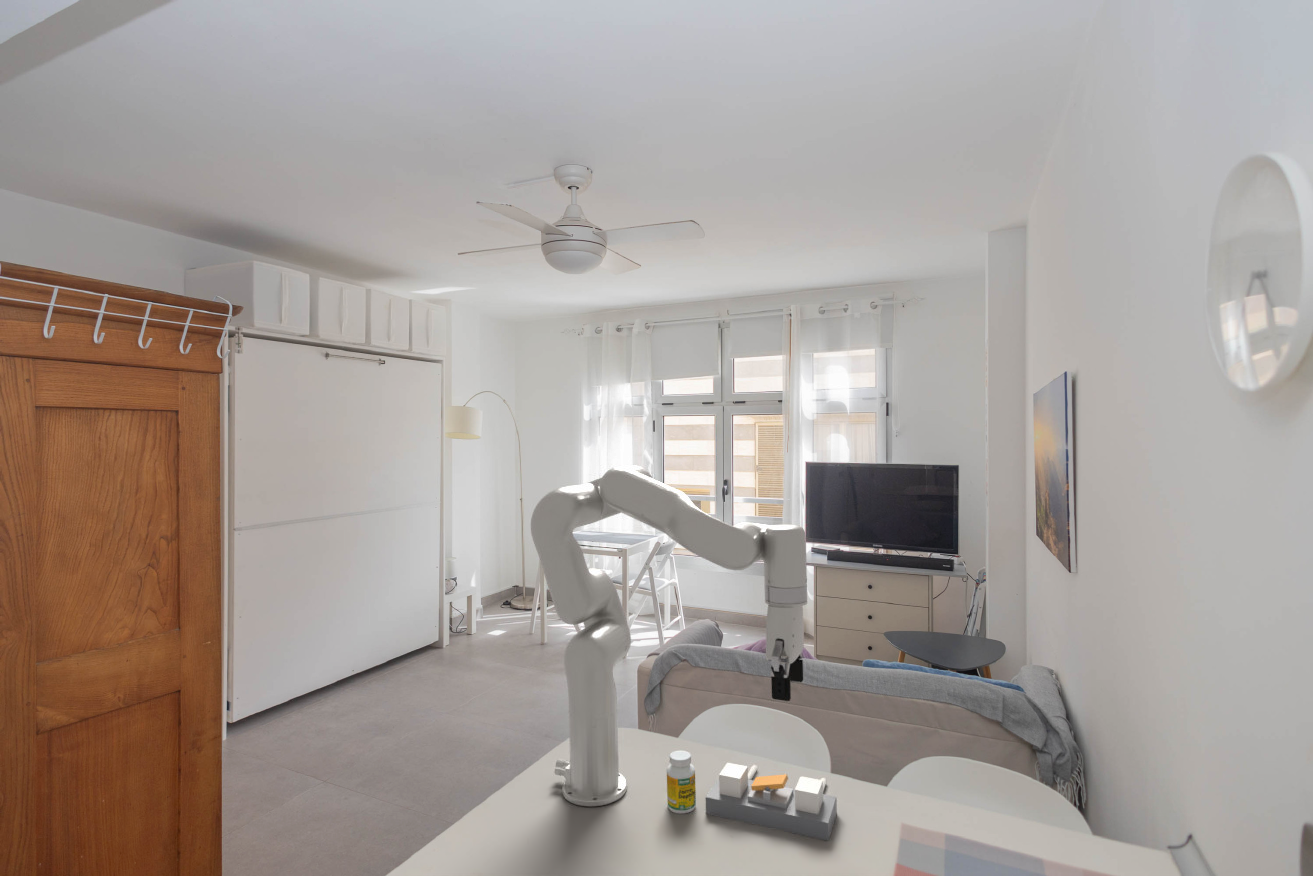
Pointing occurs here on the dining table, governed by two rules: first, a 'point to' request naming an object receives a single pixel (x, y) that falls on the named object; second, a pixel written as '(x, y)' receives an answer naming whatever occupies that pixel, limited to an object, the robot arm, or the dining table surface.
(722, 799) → the power strip
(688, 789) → the supplement bottle
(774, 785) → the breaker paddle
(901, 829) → the dining table surface
